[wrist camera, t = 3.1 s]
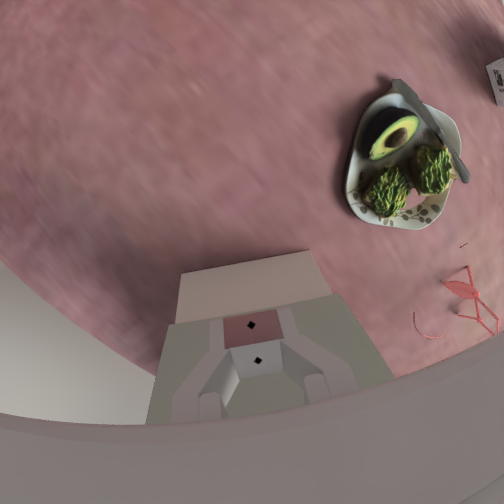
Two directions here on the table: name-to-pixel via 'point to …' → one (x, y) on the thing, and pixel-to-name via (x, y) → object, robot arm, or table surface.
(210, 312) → the storage box
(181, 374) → the lid
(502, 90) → the light bulb box
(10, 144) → the table surface
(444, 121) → the salad plate
